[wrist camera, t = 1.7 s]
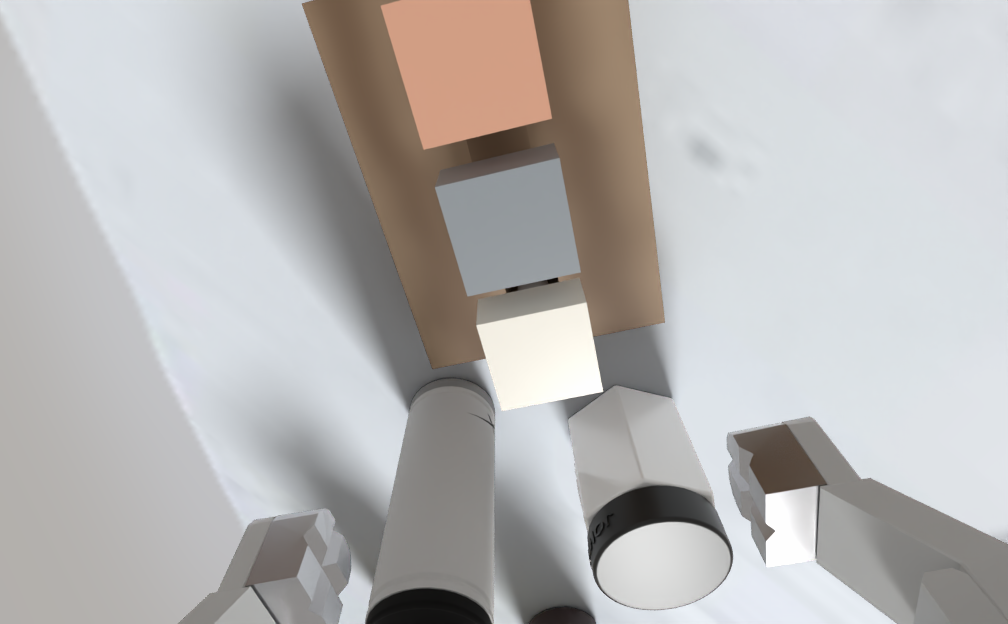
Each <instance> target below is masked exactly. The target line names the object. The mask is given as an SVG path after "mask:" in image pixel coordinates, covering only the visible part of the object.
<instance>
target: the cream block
mask: <svg viewBox="0 0 1008 624" xmlns="http://www.w3.org/2000/svg"><path fill="white" fill-rule="evenodd" d="M476 326H477V330H478V333H479V336H480V340H481V343H482V346H483V350H484V353H485V356H486V360H487V363H488V367H489V370H490V373H491V377H492V380H493V383H494V387H495V390H496V393H497V397H498V400H499V403H500V407H501V410H502V411H505V410H511V409H516V408H521V407H526V406H532V405H537V404H542V403H547V402H552V401H558V400H563V399H568V398H573V397H579V396H584V395H589V394H594V393H599V392H603V388H602V383H601V377H600V372H599V367H598V361H597V356H596V351H595V345H594V340H593V334H592V329H591V324H590V318H589V313H588V308H587V302H586V299H585V295H584V292H583V288H582V285H581V281H580V278H576V279H571V280H567V281H562V282H557V283H552V284H548V281H547V280H543V281H538V282H533V283H529V284H524V285H519V286H518V291H515V292H510V293H505V294H501V295H496V296H491V297H487V298H482V299H478V305H477V321H476Z"/></svg>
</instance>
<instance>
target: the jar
mask: <svg viewBox="0 0 1008 624" xmlns="http://www.w3.org/2000/svg"><path fill="white" fill-rule="evenodd" d="M568 424H569V430H570V436H571V442H572V448H573V455H574V461H575V463H574V465H575V474H576V477H577V487H578V493H579V497H580V502H581V506H582V510H583V516H584V520H585V524H586V528H587V532H588V548H589V549H588V554H589V560H590V565H591V569H592V570H593V576H594V579H595V582H596V584H597V585H598V587H599V588H600V590H601V591H602V592H603V593H604V594H605V595H606V596H608V597H609V598H610V599H612V600H614V601H615V602H617V603H619V604H622V605H625V606H628V607H631V608H636V609H643V610H664V609H672V608H677V607H681V606H684V605H687V604H690V603H693V602H695V601H697V600H700V599H702V598H703V597H705V596H707V595H708V594H710V593H711V592H713V591H714V590H715V589H716V588H718V587H719V586H720V585H721V584H722V582H723V581H724V580H725V579H726V577H727V575H728V574H729V572H730V569H731V566H732V562H733V551H732V547H731V544H730V542H729V539H728V537H727V535H726V532H725V530H724V527H723V525H722V523H721V520H720V518H719V516H718V513H717V511H716V509H715V504H714V494H713V491H712V489H711V487H710V484H709V482H708V480H707V477H706V475H705V473H704V470H703V468H702V466H701V463H700V461H699V459H698V456H697V454H696V452H695V449H694V447H693V445H692V442H691V440H690V438H689V435H688V433H687V431H686V428H685V426H684V424H683V421H682V419H681V417H680V414H679V412H678V410H677V407H676V405H675V403H674V400H673V399H672V398H669V397H664V396H660V395H656V394H651V393H647V392H643V391H639V390H634V389H630V388H626V387H622V386H618V385H615V386H613V387H612V388H610V389H609V390H608V391H606V392H605V393H603V394H602V395H601V396H599V397H598V398H597V399H595V400H594V401H592V402H591V403H590V404H588V405H587V406H586V407H584V408H583V409H581V410H580V411H579V412H577V413H576V414H574V415H573V416H572V417H570V418H569V419H568Z"/></svg>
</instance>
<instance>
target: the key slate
mask: <svg viewBox="0 0 1008 624" xmlns="http://www.w3.org/2000/svg"><path fill="white" fill-rule="evenodd" d="M435 190H436V193H437V196H438V200H439V203H440V206H441V210H442V213H443V216H444V220H445V223H446V226H447V230H448V233H449V236H450V240H451V243H452V246H453V250H454V253H455V256H456V260H457V263H458V266H459V270H460V273H461V276H462V280H463V283H464V286H465V290H466V293H467V296H473V295H477V294H482V293H487V292H491V291H496V290H501V289H505V288H510V287H515V286H519V285H524V284H529V283H533V282H538V281H543V280H547V279H552V278H557V277H561V276H566V275H571V274H575V273H580V272H581V270H580V265H579V260H578V254H577V249H576V244H575V238H574V233H573V228H572V222H571V217H570V211H569V206H568V201H567V195H566V190H565V185H564V179H563V174H562V169H561V163H560V158H559V155H558V153H557V150H556V147H555V144H554V143H552V144H548V145H543V146H539V147H535V148H531V149H527V150H522V151H518V152H514V153H510V154H506V155H501V156H497V157H493V158H489V159H485V160H480V161H476V162H472V163H468V164H464V165H459V166H455V167H451V168H447V169H443V170H440V173H439V176H438V179H437V182H436V185H435Z"/></svg>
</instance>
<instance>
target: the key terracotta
mask: <svg viewBox="0 0 1008 624" xmlns="http://www.w3.org/2000/svg"><path fill="white" fill-rule="evenodd" d="M381 9H382V13H383V16H384V19H385V23H386V26H387V29H388V33H389V36H390V39H391V43H392V46H393V49H394V53H395V56H396V59H397V63H398V66H399V69H400V73H401V76H402V79H403V83H404V86H405V89H406V93H407V96H408V99H409V103H410V106H411V109H412V113H413V116H414V119H415V123H416V126H417V129H418V133H419V136H420V139H421V143H422V146H423V149H424V150H425V149H429V148H433V147H438V146H442V145H446V144H450V143H454V142H458V141H462V140H466V139H470V138H475V137H479V136H483V135H487V134H491V133H495V132H499V131H503V130H508V129H512V128H516V127H520V126H524V125H528V124H532V123H536V122H540V121H545V120H549V119H552V115H551V110H550V105H549V99H548V94H547V89H546V83H545V78H544V72H543V67H542V62H541V56H540V51H539V46H538V40H537V35H536V30H535V24H534V19H533V14H532V8H531V3H530V0H400V1H396V2H392V3H389V4H385V5H381Z"/></svg>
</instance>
